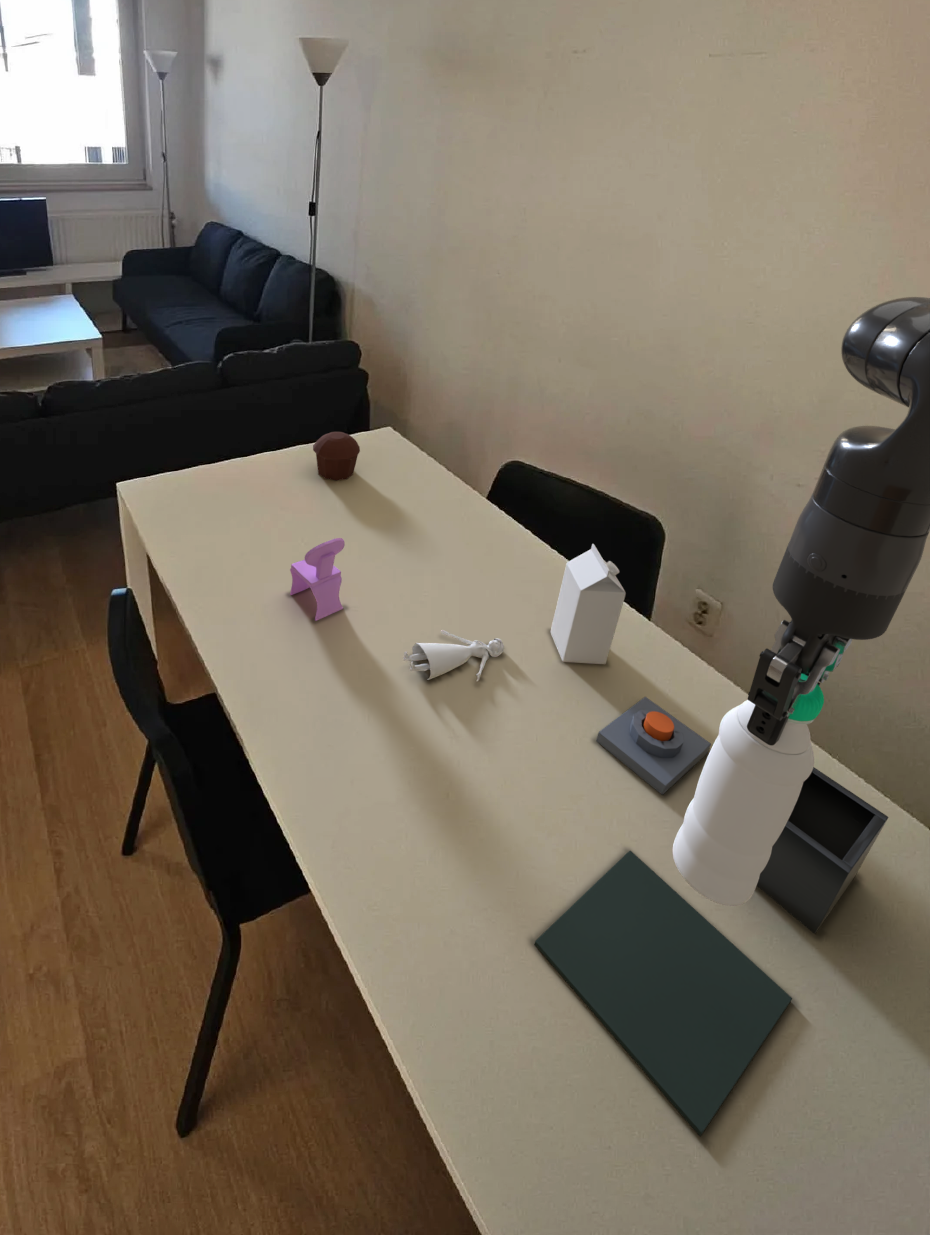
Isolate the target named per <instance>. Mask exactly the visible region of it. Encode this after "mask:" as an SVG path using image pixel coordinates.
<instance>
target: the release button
mask: <svg viewBox="0 0 930 1235" xmlns="http://www.w3.org/2000/svg"><path fill="white" fill-rule="evenodd" d="M643 727H644V730H645V731H646V733H647V734H648V735H650V736H651V737H652V738H654V739H657V740H660V741H668V740H669V739H670V738H671V736H672V733H673V730H674V724H673V722H672V720H671V719H670V718H669V717H667V716H666V715H664V714H662V713H660V712H655V711H653V712H649V713H648V714H647V715H646V718H645V721H644V724H643Z"/></svg>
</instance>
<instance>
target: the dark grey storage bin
mask: <svg viewBox="0 0 930 1235" xmlns="http://www.w3.org/2000/svg"><path fill="white" fill-rule="evenodd" d="M888 819H889V816H888V815H887V814H885V813H883V812H882V811H880V810H879V809H877V808H876V807H875V806H873V805H872V804H870V803H869V802H867V801H865V800H864V799H862V798H861V797H859V796H858V795H856V794H855V793H853V792H852V791H851V790H849V789H847V788H846V787H845V786H843V785H842V784H840V783H838V782H837V781H836V780H834V779H833V778H831V777H829V776H828V775H827V774H825V773H824V772H822V771H821V770H819V769H818V768H816V767H813V770H812V772H811V774H810V776H809V777H808V778H807V779H806V780H805V781H804V782H803V785H802V788H801V791H800V794H799V797H798V799H797V802H796V804H795V806H794V809H793V811H792V813H791V815H790V817H789V819H788V821H787V823H786V825H785V827H784V829H783V831H782V833H781V834H780V836H779V838H778V839H777V841H776V842H775V844H774V845H773V846H772V851H771V855H770V858H769V860H768V863H767V865H766V866H765V868H764V870H763V871H762V872H761V873H760V876H759V880H758V883H757V886H756V887H757V888H759V889H760V890H761V891H762V892H763V893H765V894H766V895H767V896H768V897H770V898H771V899H772V900H773V901H774V902H776V903H777V904H778V905H779V906H780V907H781V908H783V909H784V910H785V911H787V913H789V914H790V915H791V916H793V918H795V919H796V920H797V921H799V923H801V924H802V925H803V926H805V928H807V929H808V930H809V931H810V932H812V933H813V934H816V933H817V932H818V931H819V929H820V927H821V926H822V925H823V923H824V922H825V920H826V919H827V917H828V916H829V914H830V913H832V910H833V909H834V907H835V906H836V905H837V903H838V902H839V900H840V899H841V897H842V896H843V895H844V893H845V891H846V890H847V889H848V887H849V886H850V884H851V883H852V881H854V879H855V877H856V875H857V874H858V872H859V870H860V868H861V867H862V865H863V863H864V862H865V859H866V858H867V856H868V854H869V852H870V851H871V849H872V848H873V845H874V844H875V842H876V840H877V838H878V837H879V835H880V834H881V833H882V832H881V831H882V830H883V828H884V826H885V825H886V822H887V821H888Z"/></svg>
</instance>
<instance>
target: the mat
mask: <svg viewBox="0 0 930 1235" xmlns="http://www.w3.org/2000/svg"><path fill="white" fill-rule="evenodd" d="M533 944H534V946H535V947H536V948H537V950H538V951H540V953H541V954H542V955H543V956H544V957H545V959H546V960H547V961H548V962H549V963H550V964H551V965H552V967H553V968H554V969H555V970H556V972H557V973H558V974H559V975H560V976H561V978H563V980H564V981H565V982H566V983H567V984H568V985H569V986H570V988H571V989H572V990H573V991H574V992H575V994H577V996H578V997H579V998H580V999H581V1000H582V1002H583V1003H584V1005H586V1006H587V1007H588V1009H589V1010H590V1011H591V1012H592V1013H593V1014H594V1016H595V1017H596V1018H597V1019H598V1020H599V1021H600V1023H602V1025H603V1026H604V1027H605V1028H606V1029H607V1031H608V1032H609V1033H610V1034H611V1035H612V1036H613V1038H615V1040H616V1041H617V1042H618V1043H619V1044H620V1046H621V1047H622V1048H623V1049H624V1050H625V1051H626V1052H627V1053H628V1055H629V1056H630V1057H631V1059H633V1061H634V1062H635V1063H636V1064H637V1065H638V1066H639V1067H640V1068H641V1070H642V1071H643V1072H644V1073H645V1075H646V1076H647V1077H648V1078H649V1079H650V1080H651V1081H652V1083H653V1084H654V1085H655V1086H656V1087H657V1088H658V1090H659V1091H660V1092H661V1093H662V1094H663V1096H664V1097H665V1098H666V1099H667V1100H668V1101H669V1102H670V1103H671V1105H672V1106H673V1107H674V1109H676V1110H677V1111H678V1113H679V1114H680V1115H681V1116H682V1118H683V1119H684V1120H685V1121H686V1122H687V1123H688V1125H689V1126H691V1128H692V1129H693V1130H694V1132H696V1134H697V1135H698V1136H699V1137H701V1136H702V1135H703V1133H704V1132H705V1131H706V1129H707V1127H708V1126H709V1125H710V1123H711V1121H712V1120H713V1119H714V1117H715V1116H716V1114H717V1113H718V1112H719V1110H720V1109H721V1107H722V1106H723V1104H724V1102H725V1101H726V1100H727V1097H728V1096H729V1095H730V1094H731V1092H732V1090H733V1089H734V1087H735V1085H736V1084H737V1083H738V1081H739V1079H740V1078H741V1077H742V1075H743V1073H744V1072H745V1071H746V1069H747V1068H748V1066H749V1064H750V1063H751V1061H752V1060H753V1059H754V1057H755V1056H756V1054H758V1051H759V1050H760V1048H761V1046H762V1045H763V1044H764V1042H765V1041H766V1039H767V1038H768V1036H769V1035H770V1033H771V1032H772V1030H773V1029H774V1027H775V1026H776V1024H777V1023H778V1021H779V1019H780V1018H781V1017H782V1015H784V1012H785V1011H786V1009H787V1007H788V1006H789V1005H790V1003H791V1002H792V1000H793V998H792V996H790V995H789V994H788V993H787V992H786V991H785V990H784V989H783V987H781V986H780V985H778V984H777V983H776V982H775V981H774V980H773V979H772V978H771V977H770V976H769V975H768V974H766V973H765V972H764V971H763V970H762V969H761V968H760V967H759V966H757V964H756V963H754V962H753V960H751V959H750V958H749V957H748V956H747V955H745V954H744V952H742V951H741V950H740V949H739V948H738V947H737V946H736V945H735V944H733V942H731V941H730V940H729V939H728V938H727V937H726V936H725V935H724V934H723V933H722V932H721V931H720V930H718V929H717V928H716V927H715V926H714V925H713V924H712V923H711V922H710V921H709V920H707V919H706V918H705V916H703V915H702V914H700V912H699V911H698V910H697V909H695V908H694V907H693V906H692V905H691V904H690V903H689V902H688V901H686V900H685V898H684V897H682V896H681V895H680V894H679V893H677V891H675V889H673V888H672V887H671V886H670V885H669V884H668V883H667V882H665V880H664V879H663V878H662V877H660V876H659V875H658V874H657V873H656V872H655V871H654V870H653V869H651V868H650V867H649V866H648V865H647V864H646V863H645V862H644V861H643V860H641V859H640V858H639V857H638V856H637V855H636V854H635V853H634V852H633V851H632V850H628V852H626V854H624V855H623V856H622V857H620V859H619V860H618V861H617V862H616V863H615V864H614V865H613V866H611V868H610V869H608V871H607V872H606V873H605V874H603V876H601V877H600V878H599V879H598V880H597V881H596V882H595V883H594V884H593V885H591V887H590V888H589V889H588V890H586V892H585V893H584V894H583V895H581V897H579V899H577V900H576V901H575V902H574V903H573V904H572V905H571V906H570V907H569V908H568V909H567V910H566V911H565V912H564V913H563V914H562V915H561V916H559V918H557V919H556V920H555V921H554V922H553V923H552V925H550V926H549V927H548V928H547V929H546V930H545V931H544V932H543V933H542V934H541V935H540V936H539V937H538V938H537V939H536V940H534V943H533Z"/></svg>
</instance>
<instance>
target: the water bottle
mask: <svg viewBox="0 0 930 1235" xmlns="http://www.w3.org/2000/svg"><path fill="white" fill-rule="evenodd" d="M800 678H801V679H803V680H807V678H808V676H807V675H805V674H801V677H800ZM824 703H825V697H824V692H823V690H822V688H821V687H820V685H819V686H818V684H817V685H816V686H815V688H814V690H813V691H812V692H810V693H808V694H805V695H803V694H802V695H801V697H800V698H799V700H798V702H797V704H796V706H795V708H794V709H795V711H794V713H793V714H790V716H789V718H788V720H787V723H786V725H785V727H784V729H783V732H782V734H781V736H780V738H779V740H778V741H777V742H776V743H775V744H774V745H768V744H766V743H765V742H763V741H762V740H761V739H759V738H758V737H756V736H755V735H753V734H752V733H750V732H749V731H748V729H747V724H748V722H749V719H750V717H751V714H752V712H753V710H754V707H755V704H753V703H752V702H750V701H749V700H748V699H746V700H744V702H743V701H742V703H741V704H739V705H737V706H734V707H733V708H731V709H730V710H728V711H727V712H726V713H725V714H724V716H723V717H722V718H721V721H720V724H719V726H718V727H719V728H718V735H717V737H716V738H715V740H714V742H713V744H712V745H711V746H712V747H710V749H709V752H708V755H707V757H706V760H705V762H704V764H703V767H702V770H701V773H700V776H699V778H698V781H697V785H696V787H695V788H696V789H695V792H694V796H693V798H692V800H691V801H690V802H689V804H688V806H687V808H686V811H685V814H684V817H683V823H682V824H681V825H680V828H679V829H678V831H677V833H676V835H675V838H674V841H673V844H672V858H673V861H674V864H675V866H676V869H677V870H678V872H679V874H680V875H681V877H682V878H683V879H684V881H685V882H686V883H687V884H688V885H689V886H690V887H691V888H692V889H693V890H694V891H696V892H697V893H698V894H699V895H701V896H702V897H704V898H706V899H707V900H710V901H712V902H714V903H716V904H719V905H722V906H729V907H737V906H741V905H744V904H745V903H747V902H748V901H749V900H750V899H752V896H753V895H754V892H755V891H756V888H757V887H758V886H757V883H758V880H759V876H760V873H761V872H762V871H763V870H764V868H765V866H766V865H767V863H768V860H769V858H770V855H771V851H772V846H773V845H774V844H775V842H776V841H777V839H778V838H779V836H780V834H781V833H782V831H783V829H784V827H785V825H786V823H787V821H788V819H789V817H790V815H791V813H792V811H793V809H794V806H795V804H796V802H797V799H798V797H799V794H800V791H801V788H802V785H803V782H804V781H805V780H806V779H807V778H808V777H809V776H810V774H811V772H812V770H813V767H814V766H815V753H814V749H813V744H812V741H811V732H810V728H809V726H808V725H810V724H811V723H814V721H815V720H816V718H817V717H818V716H820V713H821V712H822V709H823V707H824ZM814 768H815V767H814Z"/></svg>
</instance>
